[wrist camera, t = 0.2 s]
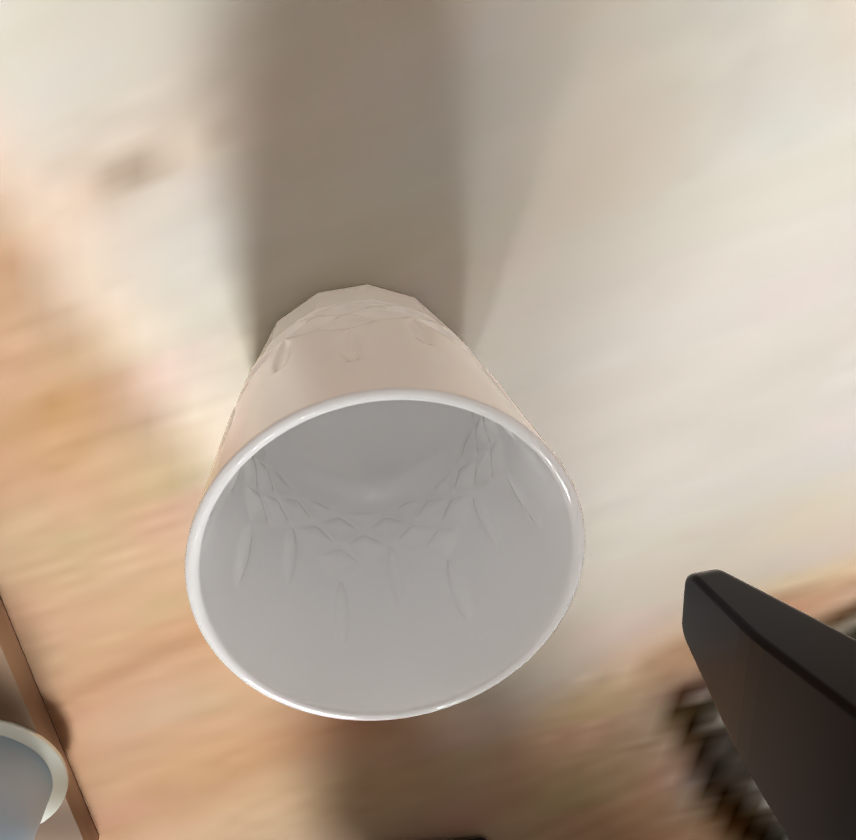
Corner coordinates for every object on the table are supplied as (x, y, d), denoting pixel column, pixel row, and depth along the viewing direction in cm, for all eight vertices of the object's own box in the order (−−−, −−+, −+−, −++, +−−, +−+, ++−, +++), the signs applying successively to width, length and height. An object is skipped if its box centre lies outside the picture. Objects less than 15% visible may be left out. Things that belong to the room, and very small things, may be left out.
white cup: (212, 466, 24) (151, 698, 15) (266, 231, 21) (232, 339, 12) (438, 511, 26) (506, 740, 17) (515, 303, 23) (648, 442, 14)
